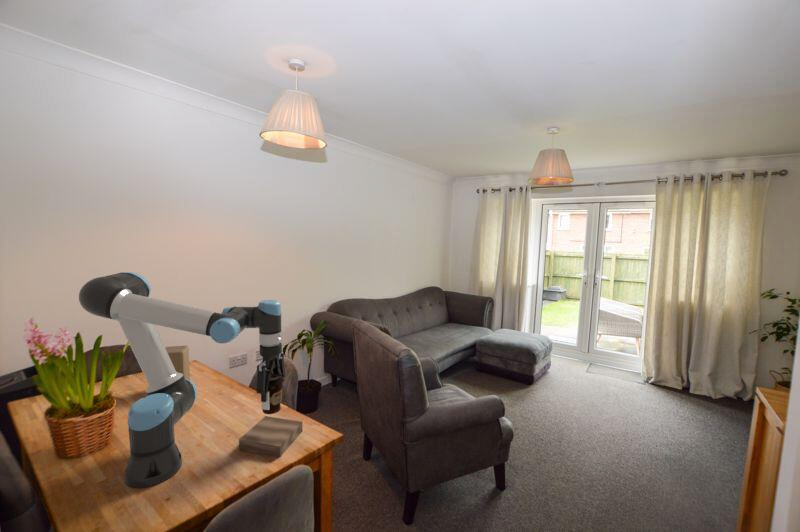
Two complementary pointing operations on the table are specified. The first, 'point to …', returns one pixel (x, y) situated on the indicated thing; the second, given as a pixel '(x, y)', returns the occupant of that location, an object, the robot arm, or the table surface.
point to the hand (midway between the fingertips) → (272, 403)
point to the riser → (271, 436)
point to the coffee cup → (274, 393)
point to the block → (180, 359)
